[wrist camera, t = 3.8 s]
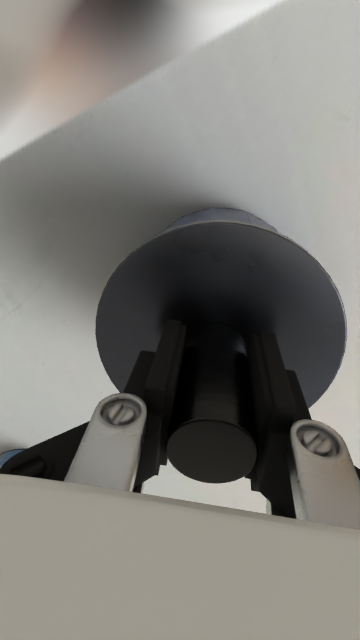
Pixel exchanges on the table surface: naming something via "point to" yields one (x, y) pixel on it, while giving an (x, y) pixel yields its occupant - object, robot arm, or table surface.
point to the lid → (221, 331)
